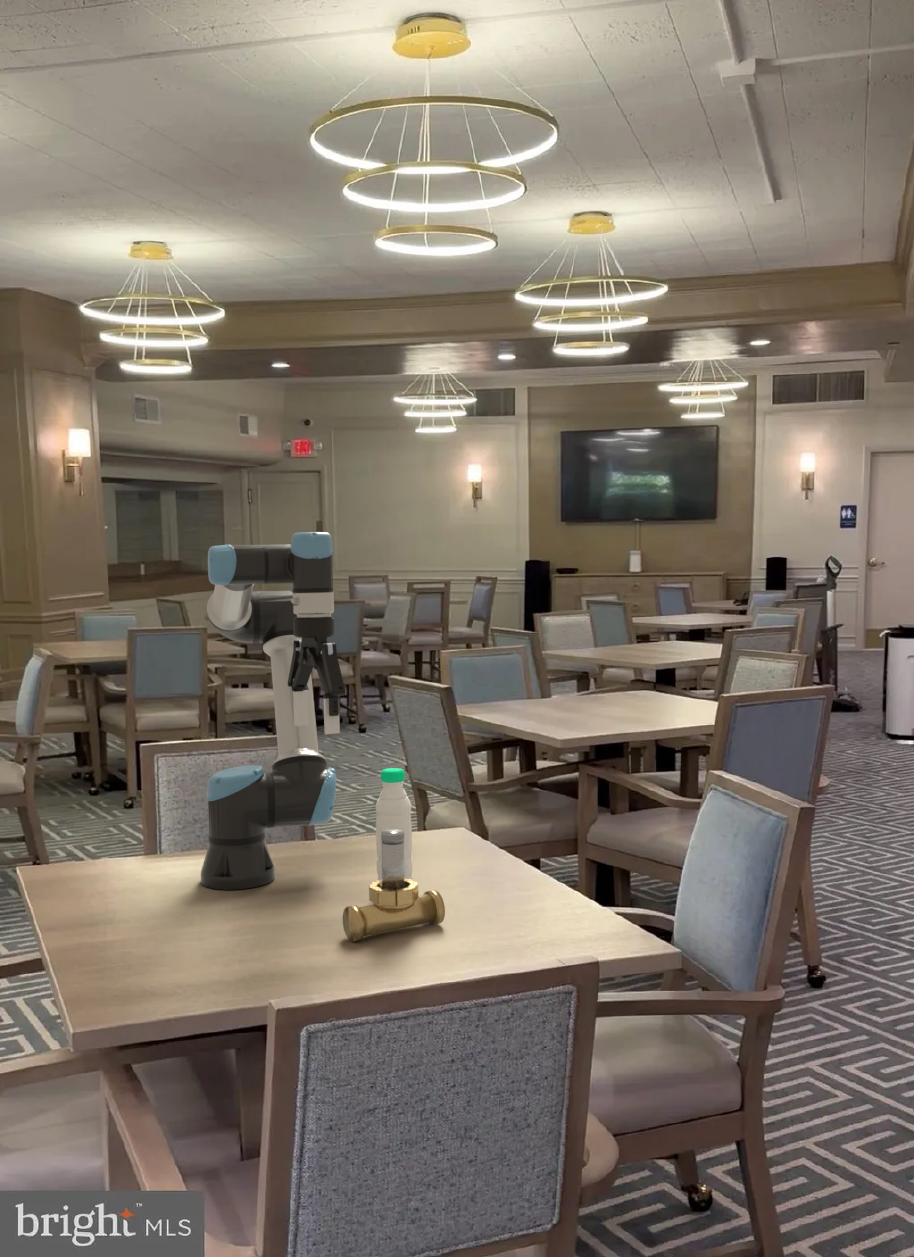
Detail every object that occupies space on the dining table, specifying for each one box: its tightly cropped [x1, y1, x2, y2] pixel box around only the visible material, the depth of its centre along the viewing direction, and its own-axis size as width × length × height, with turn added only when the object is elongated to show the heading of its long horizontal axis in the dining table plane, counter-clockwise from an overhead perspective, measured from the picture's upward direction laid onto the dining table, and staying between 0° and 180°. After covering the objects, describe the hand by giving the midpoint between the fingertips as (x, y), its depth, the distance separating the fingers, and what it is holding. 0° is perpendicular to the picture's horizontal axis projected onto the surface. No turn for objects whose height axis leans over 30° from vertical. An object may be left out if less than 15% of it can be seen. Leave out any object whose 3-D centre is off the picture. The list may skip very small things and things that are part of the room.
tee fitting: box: [342, 879, 446, 943], centre depth 202 cm, size 17×8×8 cm, turn 122°
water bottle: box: [375, 767, 413, 881], centre depth 224 cm, size 7×7×25 cm
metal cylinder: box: [381, 829, 405, 890], centre depth 201 cm, size 4×4×12 cm
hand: (316, 729), depth 212 cm, fingers open, 13 cm apart
